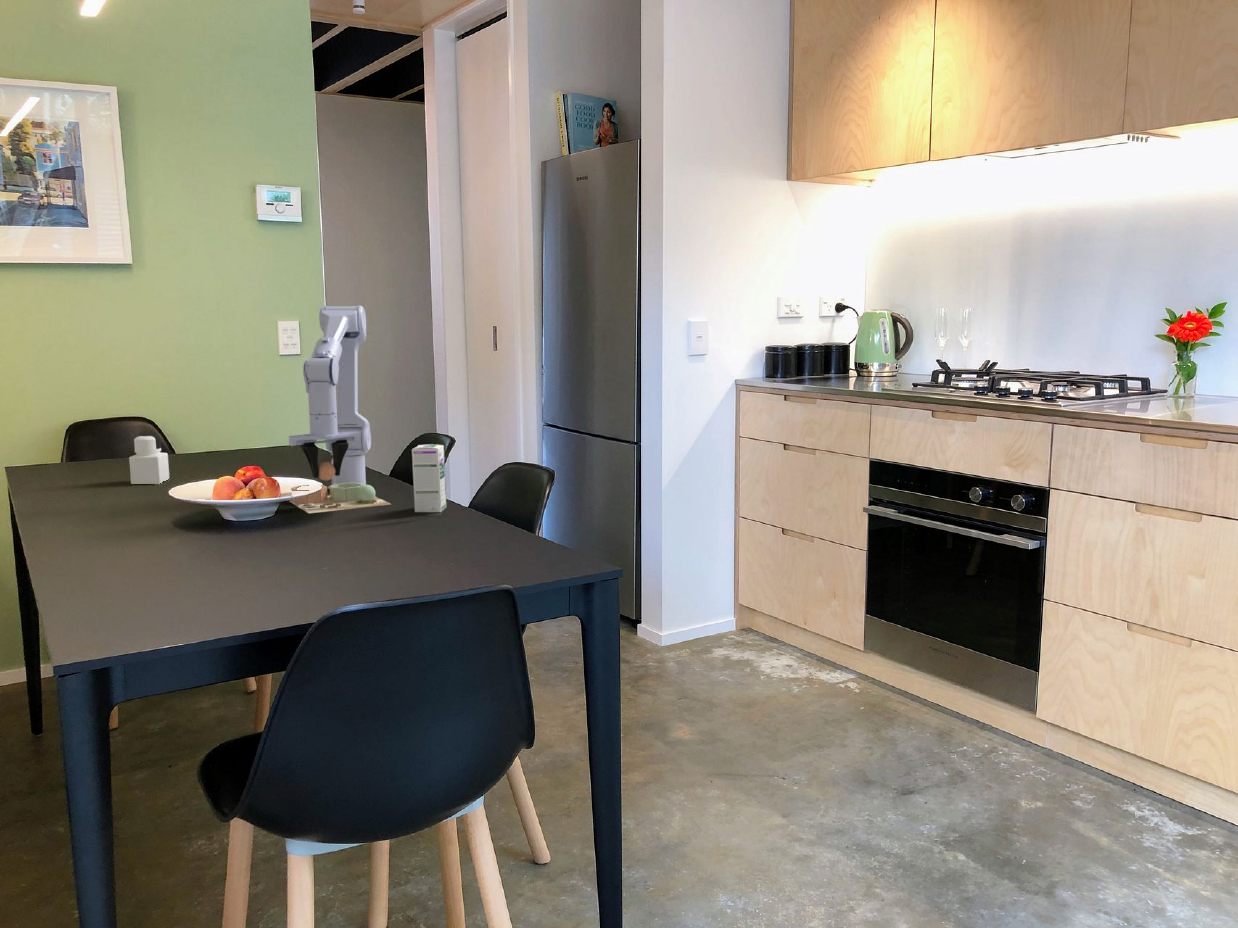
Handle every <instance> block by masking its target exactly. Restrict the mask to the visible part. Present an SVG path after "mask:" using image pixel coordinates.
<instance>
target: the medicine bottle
mask: <svg viewBox="0 0 1238 928" xmlns="http://www.w3.org/2000/svg"><path fill="white" fill-rule="evenodd" d="M133 444H134V445H133V446H134V453H135V455H130V456H129V457H128V463H129V464H128V466H129V476H130V477H129V479H130V484H155V485H161V484H163V483H162V482H163V481H166V480H168V479H169V478H170V469H169V468H170V467H169V466H170V465H169V455H168V454H169V453H167V452H162V442H161V437H160V436H158V435H156V434H155V435H153V434H151V435H149V434H147V435H144V434H143V435H137V436H136V437H134V439H133ZM169 480H170V479H169ZM169 480H168V481H169ZM166 482H167V481H166ZM160 483H161V484H160Z"/></svg>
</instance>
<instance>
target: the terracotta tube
mask: <svg viewBox="0 0 1238 928" xmlns="http://www.w3.org/2000/svg"><path fill="white" fill-rule="evenodd" d="M309 485H310V484H303V485H296V486H293V487H290V488H291V489H290V491H291V490H292V491H309V490H297V488H299V487H301V486H309ZM320 485H321V486H322V488H321V489H320V490H318V491H316V492H314V493H313V494H308V495H306V496H303V497H298V498H296V499H292V498H291V499H292V502H293V503H296V504H312V503H321V502H324V501H327V500H328V496H329V495H328V486H326V485H324V484H320ZM293 503H292V504H293Z"/></svg>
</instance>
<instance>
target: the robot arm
mask: <svg viewBox="0 0 1238 928" xmlns="http://www.w3.org/2000/svg"><path fill="white" fill-rule="evenodd" d="M318 318H319V321H318V322H319V327H320V329H321V331H322V332H323V333H322V334H323V337H320V338H319V339H318V340H317V341H316V343H315V346H314V349H313V351H312V353H311V354H312V355H311V357H308V359H307V360H304V362H303V367H302V368H303V372H302V373H303V380H304V384H305V392H306V393H307V394H308V398H307V399H308V414H309V432H310V433H305V434H298V435H297V434H296V435H288V445H289V446H291V447H293V446H294V447H295V446H300V448H301V450H302V452H303V454H304V455H305V457H306V460H307V462H308V465H309V467H310V470H311V474H312V477H313V478H315V479H317V478H318V479H319V472H318V466H319V464H318V460H319V459H318V457H319V456H318V455H319V447H318V446H317V445H316V444H325V448H326V450H327V451H328V452H329V454H331V456H332V458H331V461H330V463H331V464H333V465H334V467H335V469H336V473H335V476H334V477H333V478H332V479H331V485H334V484H340V483H362V484H364V485H367V481H366V456H365V454H366V453H368V452H369V451H370V449H371V446H372V434H371V433H372V432H371V426H370V425H371V424H370V422H369V420H368V419H367V418H366V417H364V416H363V415H362V414H360V413H359V411H358V410H359V406H358V405H359V402H358V399H359V398H358V397H359V396H358V394H359V390H358V389H359V388H358V383H359V380H358V378H359V377H358V375H359V374H358V373H359V372H358V370H359V369H358V367H359V366H358V364H359V363H358V359H359V357H358V353H359V347H360V345H362V344H363V343H364V342H366V338H367V316H366V311H365V308H364V307H363V306H362V305H356V306H354V305H353V306H352V305H350V306H349V305H344V306H343V305H341V306H339V305H337V306H336V305H333V306H330V305H328V306H327V305H322V307H321V308H320V309H319V317H318ZM336 386H337V388H336ZM331 485H329V486H327V489H328V490H330V486H331Z"/></svg>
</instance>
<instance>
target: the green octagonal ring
mask: <svg viewBox="0 0 1238 928" xmlns="http://www.w3.org/2000/svg"><path fill="white" fill-rule="evenodd" d="M362 485H364V484H362V483H340V484H334V485H332V484H331V485H329V486H330V489H329V496H330V499H331V500H333V501H341V502H348V501H358V500H359V499H358V497H357V490H358V489H359V487H361V486H362Z"/></svg>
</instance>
